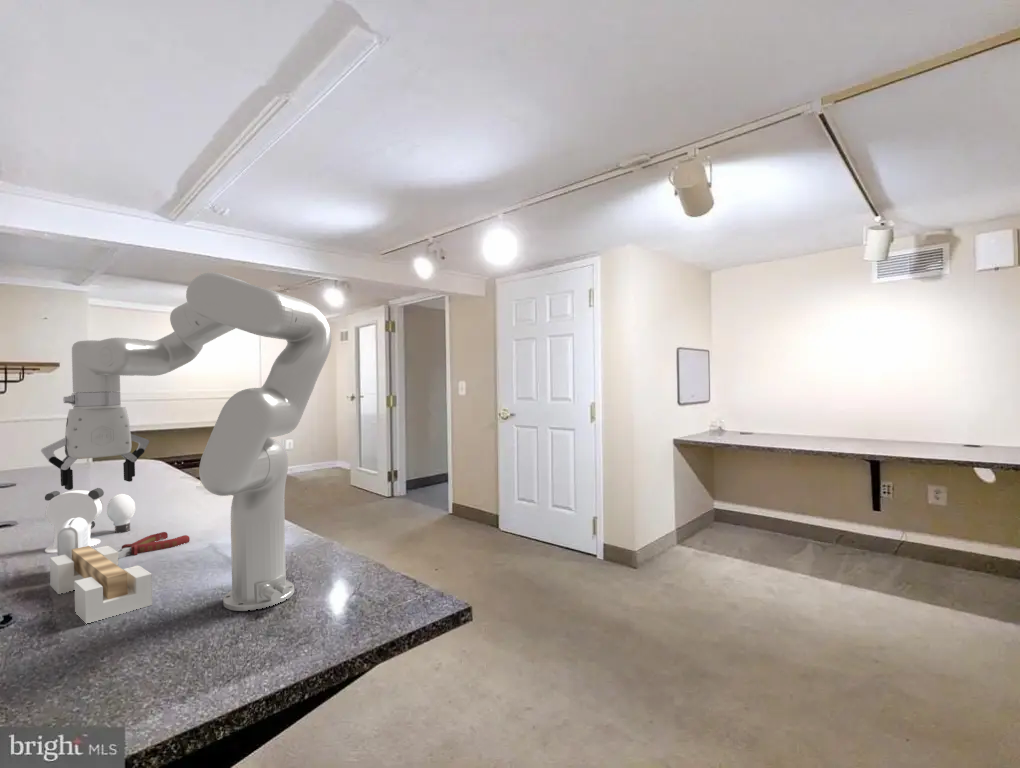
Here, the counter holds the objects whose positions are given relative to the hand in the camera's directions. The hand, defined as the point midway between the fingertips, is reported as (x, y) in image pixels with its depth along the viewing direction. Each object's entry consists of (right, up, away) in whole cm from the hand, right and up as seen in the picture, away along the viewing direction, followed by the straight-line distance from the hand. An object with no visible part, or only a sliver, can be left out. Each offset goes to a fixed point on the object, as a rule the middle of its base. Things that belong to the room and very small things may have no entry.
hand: (99, 484), depth 103 cm
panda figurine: (-33, -23, +33) cm, 52 cm away
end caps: (0, -22, 0) cm, 22 cm away
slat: (0, -19, 0) cm, 19 cm away
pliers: (-13, -23, +29) cm, 40 cm away
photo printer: (-16, -23, +13) cm, 31 cm away
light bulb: (-31, -23, +47) cm, 61 cm away
